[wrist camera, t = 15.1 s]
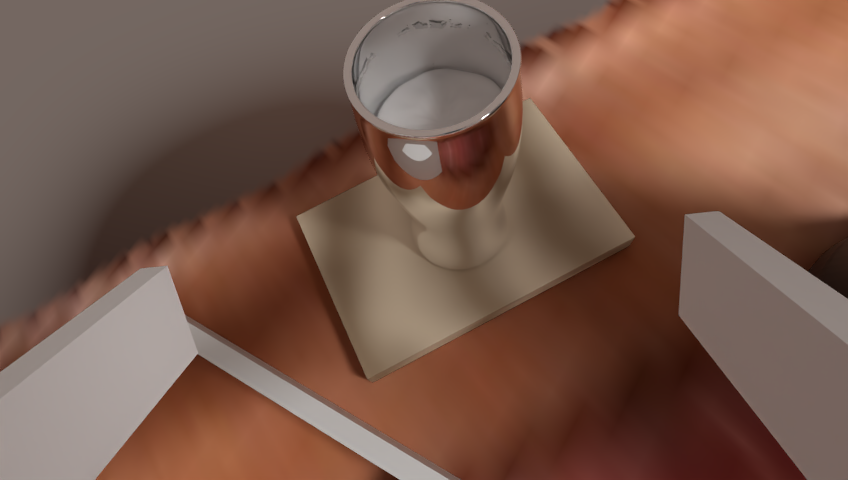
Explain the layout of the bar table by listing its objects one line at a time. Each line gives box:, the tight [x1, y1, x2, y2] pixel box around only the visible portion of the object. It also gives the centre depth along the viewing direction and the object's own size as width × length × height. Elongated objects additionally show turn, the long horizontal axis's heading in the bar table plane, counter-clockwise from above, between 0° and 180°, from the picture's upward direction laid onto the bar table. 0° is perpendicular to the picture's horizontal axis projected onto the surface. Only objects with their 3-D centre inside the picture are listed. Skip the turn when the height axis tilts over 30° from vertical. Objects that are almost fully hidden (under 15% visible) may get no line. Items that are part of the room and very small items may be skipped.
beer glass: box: [343, 0, 523, 270], centre depth 25 cm, size 7×7×15 cm
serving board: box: [296, 98, 635, 382], centre depth 33 cm, size 18×12×2 cm, turn 117°
